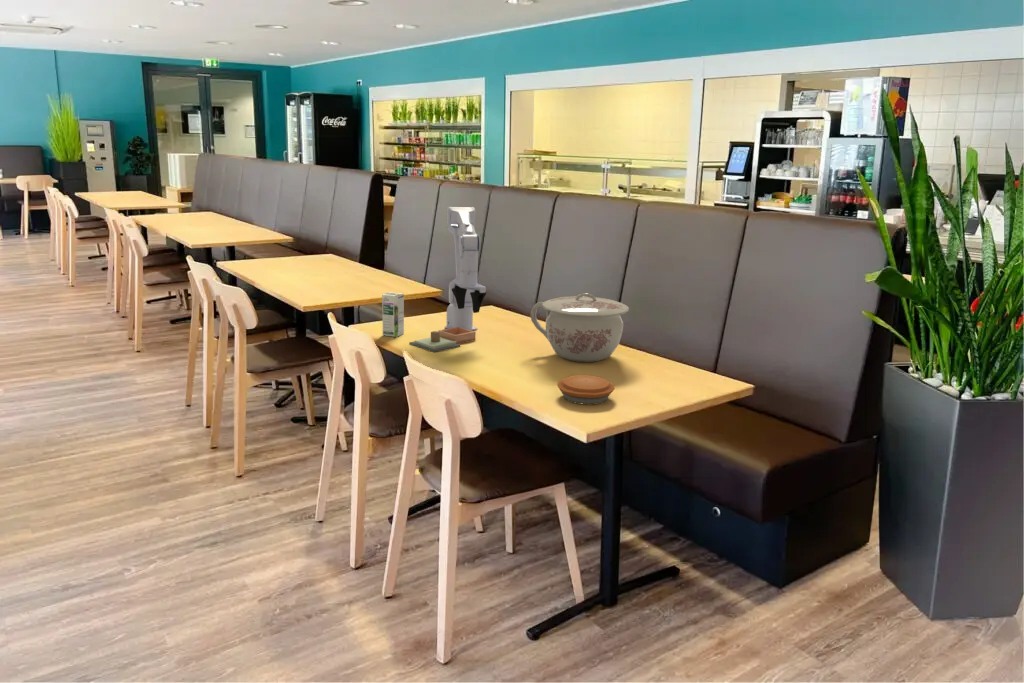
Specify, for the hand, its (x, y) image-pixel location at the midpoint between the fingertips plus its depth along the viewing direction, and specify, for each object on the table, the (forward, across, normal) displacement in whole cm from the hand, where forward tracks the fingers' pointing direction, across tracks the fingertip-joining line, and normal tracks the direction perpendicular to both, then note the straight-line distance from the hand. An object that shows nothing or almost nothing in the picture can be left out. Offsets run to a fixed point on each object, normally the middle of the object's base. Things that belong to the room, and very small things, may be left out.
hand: (468, 310), depth 262 cm
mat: (+10, -2, -13) cm, 17 cm away
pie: (+11, +65, -16) cm, 68 cm away
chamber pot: (+11, +38, +15) cm, 42 cm away
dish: (+10, -3, -2) cm, 11 cm away
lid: (+10, -2, -13) cm, 16 cm away
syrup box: (+11, -22, -15) cm, 29 cm away
